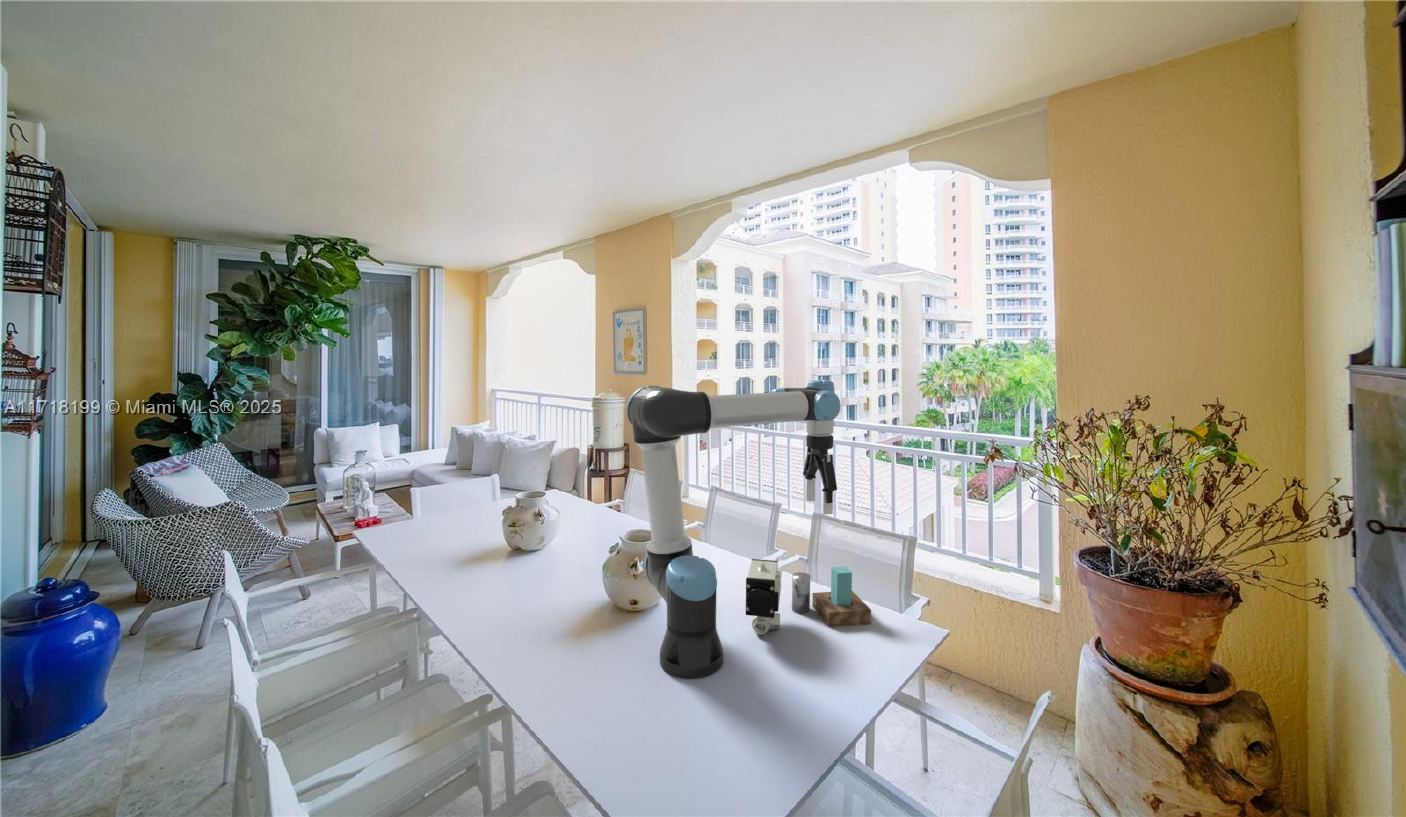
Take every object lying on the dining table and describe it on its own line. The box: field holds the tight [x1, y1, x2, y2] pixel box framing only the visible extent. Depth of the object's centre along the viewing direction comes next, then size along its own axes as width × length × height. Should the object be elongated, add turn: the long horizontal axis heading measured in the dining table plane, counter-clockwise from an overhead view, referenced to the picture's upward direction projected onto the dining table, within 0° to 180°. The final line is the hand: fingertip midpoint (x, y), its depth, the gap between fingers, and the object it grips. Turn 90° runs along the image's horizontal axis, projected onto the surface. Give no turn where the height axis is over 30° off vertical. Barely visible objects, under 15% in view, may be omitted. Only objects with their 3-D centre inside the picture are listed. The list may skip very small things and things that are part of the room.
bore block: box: [811, 590, 872, 628], centre depth 144 cm, size 12×12×4 cm
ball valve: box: [745, 558, 783, 636], centre depth 136 cm, size 18×8×18 cm, turn 168°
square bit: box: [830, 566, 853, 606], centre depth 144 cm, size 4×4×13 cm
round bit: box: [791, 571, 811, 615], centre depth 147 cm, size 5×5×10 cm
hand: (818, 507), depth 149 cm, fingers open, 13 cm apart
